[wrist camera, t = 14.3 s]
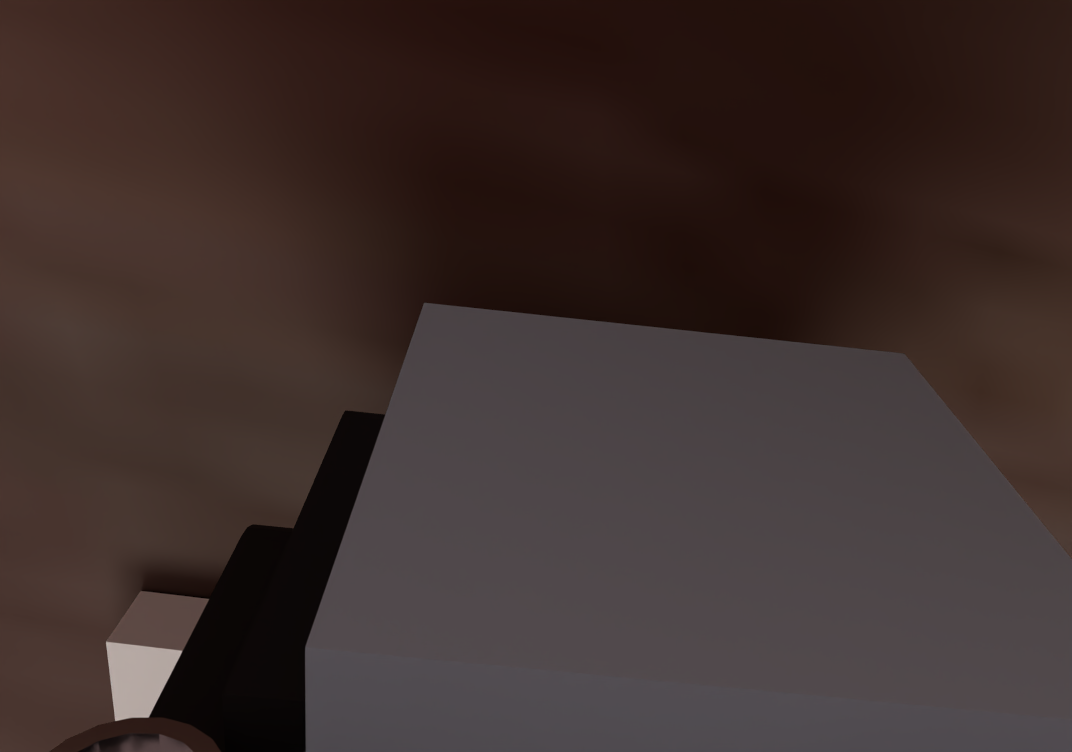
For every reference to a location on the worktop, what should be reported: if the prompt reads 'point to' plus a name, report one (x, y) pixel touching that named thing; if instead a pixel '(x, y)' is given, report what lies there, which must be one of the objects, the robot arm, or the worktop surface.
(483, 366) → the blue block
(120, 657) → the board
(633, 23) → the worktop surface
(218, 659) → the robot arm
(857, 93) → the worktop surface
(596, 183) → the worktop surface
